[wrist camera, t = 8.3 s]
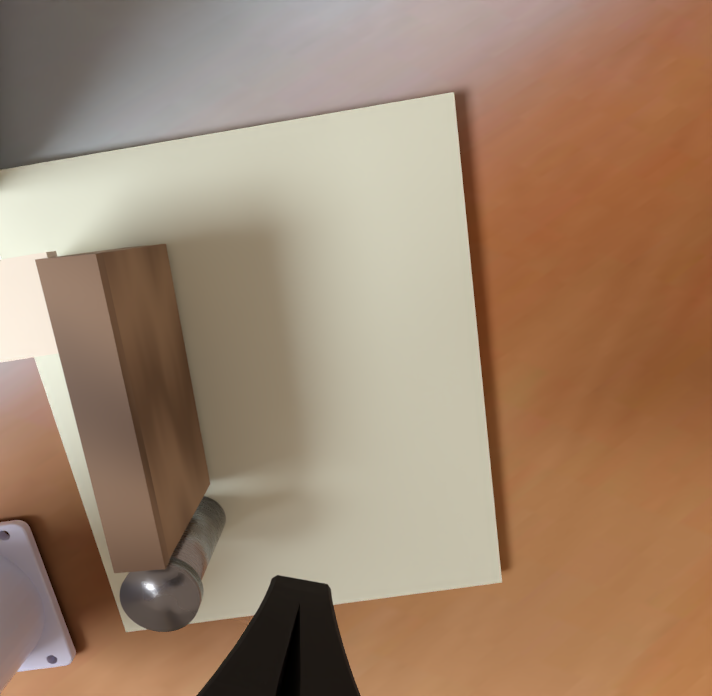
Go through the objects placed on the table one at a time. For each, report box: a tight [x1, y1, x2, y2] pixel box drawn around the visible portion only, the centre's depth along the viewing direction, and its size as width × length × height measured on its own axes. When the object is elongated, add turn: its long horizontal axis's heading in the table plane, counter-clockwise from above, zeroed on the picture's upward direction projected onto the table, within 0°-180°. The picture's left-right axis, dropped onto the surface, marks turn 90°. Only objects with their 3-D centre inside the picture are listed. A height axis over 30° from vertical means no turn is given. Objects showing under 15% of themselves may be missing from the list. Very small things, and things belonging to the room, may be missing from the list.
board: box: [0, 92, 502, 632], centre depth 21 cm, size 18×21×1 cm
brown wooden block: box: [35, 244, 210, 573], centre depth 18 cm, size 10×2×5 cm, turn 5°
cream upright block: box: [0, 251, 58, 362], centre depth 18 cm, size 3×3×6 cm
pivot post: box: [119, 496, 226, 632], centre depth 20 cm, size 3×3×6 cm
